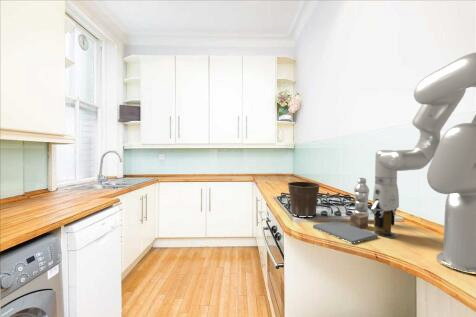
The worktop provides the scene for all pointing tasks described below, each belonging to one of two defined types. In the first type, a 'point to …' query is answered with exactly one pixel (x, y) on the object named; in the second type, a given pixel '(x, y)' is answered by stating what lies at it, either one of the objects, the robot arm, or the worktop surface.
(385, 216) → the condiment
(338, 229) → the slate board
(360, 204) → the plastic bottle
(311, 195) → the plant pot
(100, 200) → the worktop surface
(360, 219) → the walnut block
